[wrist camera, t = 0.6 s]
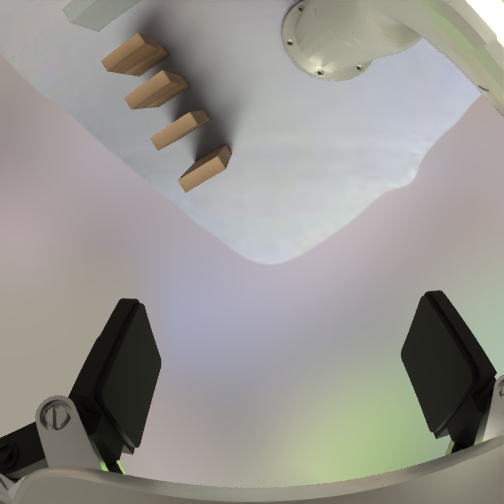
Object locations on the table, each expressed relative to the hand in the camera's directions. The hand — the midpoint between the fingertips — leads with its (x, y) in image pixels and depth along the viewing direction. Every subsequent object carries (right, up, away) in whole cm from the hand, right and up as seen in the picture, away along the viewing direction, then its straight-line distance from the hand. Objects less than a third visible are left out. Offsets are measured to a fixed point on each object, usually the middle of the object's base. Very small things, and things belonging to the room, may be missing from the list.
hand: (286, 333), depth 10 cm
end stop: (-20, +37, +19) cm, 46 cm away
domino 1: (-15, +28, +23) cm, 39 cm away
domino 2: (-12, +24, +26) cm, 37 cm away
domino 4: (-6, +15, +30) cm, 34 cm away
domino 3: (-9, +19, +28) cm, 35 cm away
